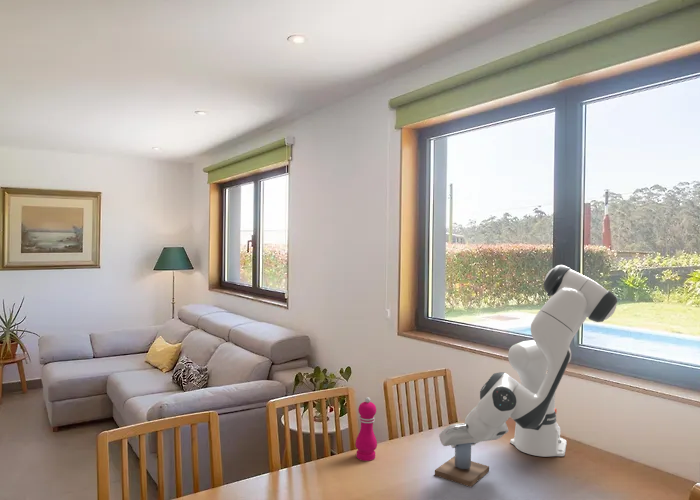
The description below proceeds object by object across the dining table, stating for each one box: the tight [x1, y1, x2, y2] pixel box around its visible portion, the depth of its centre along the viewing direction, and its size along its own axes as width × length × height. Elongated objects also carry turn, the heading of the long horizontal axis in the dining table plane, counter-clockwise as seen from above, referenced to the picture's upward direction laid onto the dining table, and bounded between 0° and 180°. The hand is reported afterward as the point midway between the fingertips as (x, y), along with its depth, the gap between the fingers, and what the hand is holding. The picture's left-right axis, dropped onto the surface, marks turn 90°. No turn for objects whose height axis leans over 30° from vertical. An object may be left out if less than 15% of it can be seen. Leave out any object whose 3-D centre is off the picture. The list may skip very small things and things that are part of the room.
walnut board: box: [434, 455, 490, 488], centre depth 162 cm, size 14×12×2 cm
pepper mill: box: [355, 396, 378, 462], centre depth 172 cm, size 7×7×20 cm
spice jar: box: [454, 443, 472, 469], centre depth 162 cm, size 5×5×11 cm
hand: (462, 444), depth 163 cm, fingers closed on spice jar, 5 cm apart
